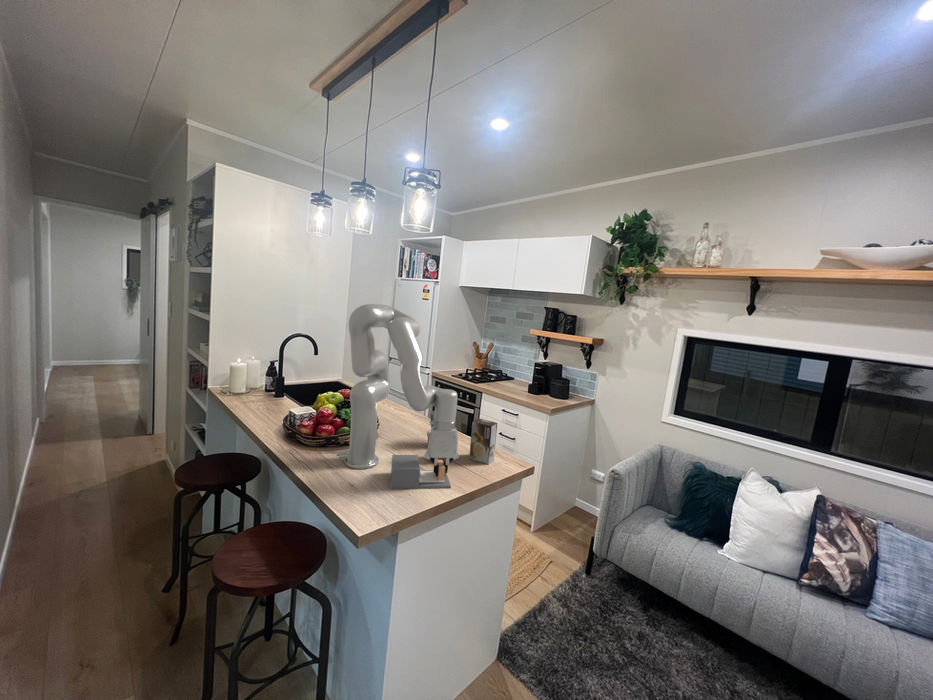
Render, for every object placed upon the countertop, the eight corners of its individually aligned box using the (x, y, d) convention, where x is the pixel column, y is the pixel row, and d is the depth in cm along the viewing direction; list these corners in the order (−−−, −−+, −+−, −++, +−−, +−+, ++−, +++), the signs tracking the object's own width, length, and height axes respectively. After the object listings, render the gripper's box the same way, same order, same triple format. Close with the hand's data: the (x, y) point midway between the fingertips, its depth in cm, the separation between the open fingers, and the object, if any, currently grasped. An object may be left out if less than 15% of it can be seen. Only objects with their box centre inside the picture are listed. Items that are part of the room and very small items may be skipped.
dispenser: (391, 488, 123) (392, 469, 123) (391, 472, 135) (392, 454, 134) (450, 488, 128) (452, 469, 127) (445, 472, 139) (447, 455, 139)
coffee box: (494, 459, 155) (498, 422, 153) (488, 464, 150) (492, 426, 148) (475, 454, 159) (478, 417, 158) (468, 458, 154) (471, 421, 152)
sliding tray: (393, 482, 125) (394, 469, 125) (392, 472, 133) (393, 459, 133) (444, 482, 129) (445, 468, 128) (441, 472, 137) (442, 459, 136)
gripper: (422, 427, 125) (418, 479, 127) (468, 428, 129) (463, 479, 131) (420, 420, 133) (417, 470, 135) (464, 421, 136) (460, 469, 138)
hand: (440, 474), depth 133 cm, fingers closed on sliding tray, 2 cm apart
